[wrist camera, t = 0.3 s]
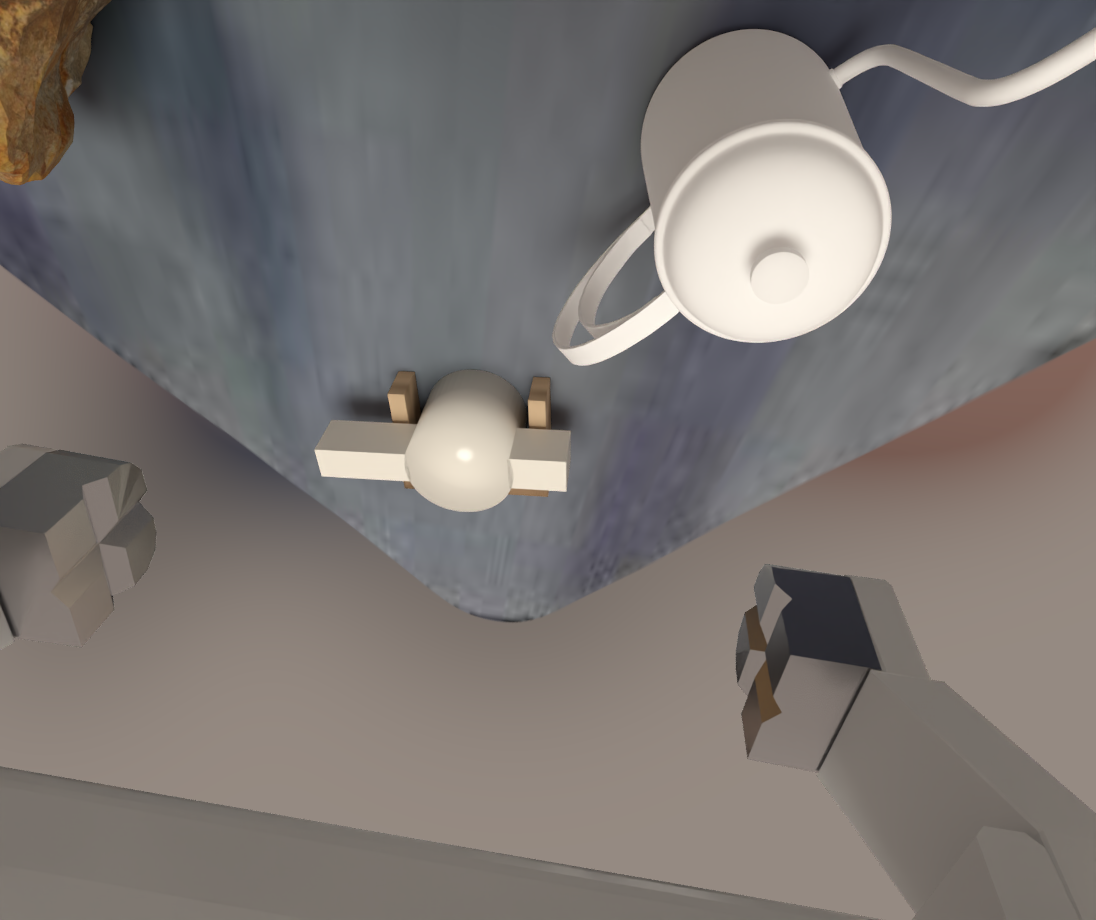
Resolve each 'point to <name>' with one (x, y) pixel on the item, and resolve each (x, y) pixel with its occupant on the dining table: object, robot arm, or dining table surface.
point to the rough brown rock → (40, 81)
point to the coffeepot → (766, 189)
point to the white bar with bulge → (454, 446)
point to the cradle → (409, 412)
